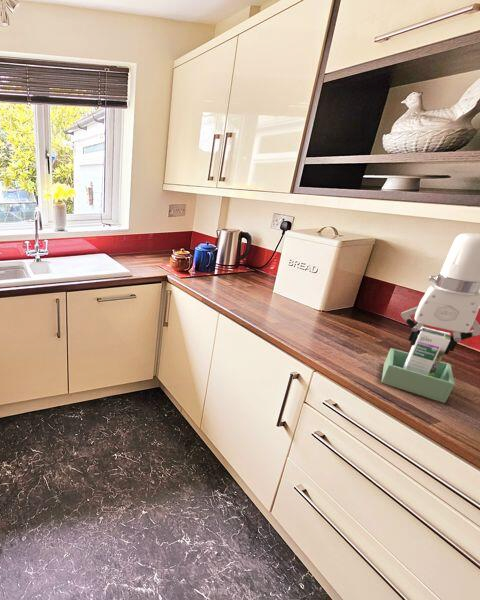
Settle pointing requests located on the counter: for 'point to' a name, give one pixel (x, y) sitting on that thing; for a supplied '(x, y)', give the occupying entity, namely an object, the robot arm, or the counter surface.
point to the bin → (417, 377)
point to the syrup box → (427, 351)
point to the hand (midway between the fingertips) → (428, 347)
